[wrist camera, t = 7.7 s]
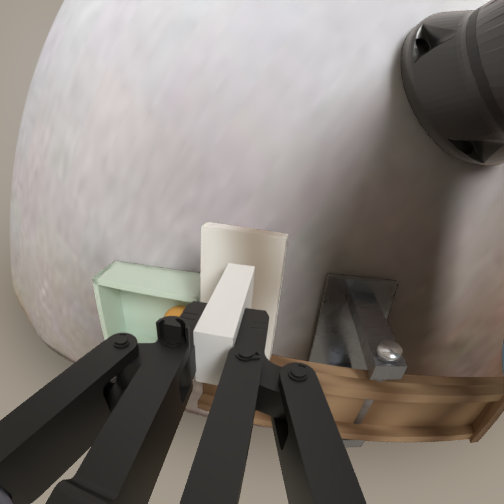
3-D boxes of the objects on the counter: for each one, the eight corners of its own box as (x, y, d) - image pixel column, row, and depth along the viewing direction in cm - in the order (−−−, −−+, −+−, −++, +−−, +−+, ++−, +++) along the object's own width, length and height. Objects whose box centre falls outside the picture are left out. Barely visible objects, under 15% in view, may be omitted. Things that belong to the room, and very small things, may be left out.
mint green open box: (125, 330, 32) (107, 352, 28) (115, 260, 29) (92, 278, 25) (213, 348, 31) (203, 376, 27) (215, 275, 28) (202, 297, 24)
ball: (176, 336, 25) (208, 325, 27) (160, 304, 26) (192, 295, 28) (169, 350, 27) (198, 339, 29) (155, 320, 28) (184, 311, 31)
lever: (207, 392, 24) (196, 414, 21) (208, 221, 18) (188, 234, 15) (469, 423, 18) (475, 444, 16) (548, 283, 13) (566, 299, 10)
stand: (304, 371, 31) (305, 452, 20) (327, 273, 26) (347, 350, 16) (362, 374, 30) (379, 451, 20) (395, 280, 26) (441, 352, 15)
